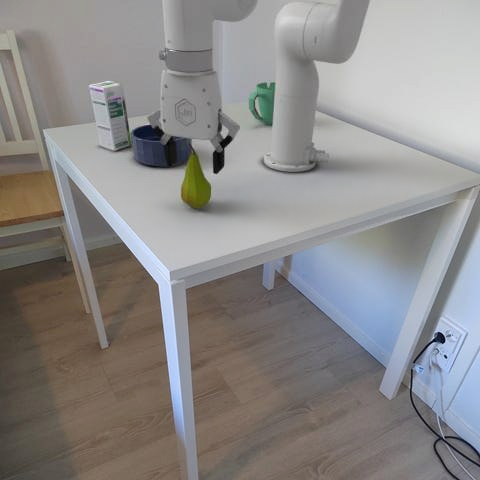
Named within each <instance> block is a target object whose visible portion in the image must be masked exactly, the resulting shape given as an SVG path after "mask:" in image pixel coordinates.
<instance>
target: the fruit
mask: <svg viewBox="0 0 480 480" xmlns="http://www.w3.org/2000/svg"><path fill="white" fill-rule="evenodd" d="M189 145H190V147H191V148H192V154H191V155H190V157H189V160H188V161H186V165H185V172H184V173H185V174H184V178H183V180H182V183H181V185H180V198H181V200H182V202H183V203H184V204H187V205H188V207H191V208H194V209H196V210H197V209H202V208H203V207H204V206H206V205H207V204H208V203H209V202H210V200H211V197H212V185H211V183H210V181H208V179H207V178H206V176H205V174H204V171H203V169H202V166H201V163H200V159H199V156H198V154H197V152H196V151H195V149H194V147H193V145H192V146H191V144H189Z"/></svg>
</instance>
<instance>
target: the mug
mask: <svg viewBox="0 0 480 480" xmlns="http://www.w3.org/2000/svg"><path fill="white" fill-rule="evenodd" d="M275 84H276V81H274V82H273V81H271V82H270V83H269V86H268V82H266V81H265V82H260V83H257V84H256V90H255V91H253V92H251V93H250V95H249V97H248V109H249V111H250V113H251V114H252V116H253V118H254V119H255V120H257V121H260V122H262V123H263V124H264V125H268V126H273V112H274V97H275ZM256 100H257V103H258V108H259V112H260V114H259V112H258V110H257V108H256Z"/></svg>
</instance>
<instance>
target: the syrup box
mask: <svg viewBox="0 0 480 480" xmlns="http://www.w3.org/2000/svg"><path fill="white" fill-rule="evenodd" d="M88 88H89V93H90V100H91V104H92V108H93V109H92V110H93V114H94V118H95V119H94V120H95V123H96V129H97V132H98V133H97V134H98V138H99V145H100V146H101V147H102V148H105V149H106V150H107V149H108V150H110V151H114V152H116V151H118V150H121V149H125V148H127V147H132V142H131V135H130V133H131V131H130V124H129V118H128V111H127V105H126V104H127V103H126V98H125V92H124V91H125V90H124V84H122V83H120V82H117V81H112V80H106V81H102V82H97V83H91V84H89V85H88Z"/></svg>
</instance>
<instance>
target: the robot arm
mask: <svg viewBox="0 0 480 480" xmlns="http://www.w3.org/2000/svg"><path fill="white" fill-rule="evenodd" d="M258 2H259V0H161V5H162V16H163V17H162V18H163V30H164V43H165V47H164V50H160V51H159V52H158V58H159V60H160V61H164V62H165V67H166V68H164V69H162V71H161V80H160V96H159V97H160V98H159V99H160V103H159V104H160V107H159V109H156V110H155V111H154V112H152V113H151V114H149V115H148V116H147V121H148V122H149V123H148V124H151V126H152V128H153V129H154V133H155V134H156V135H157V136H158V137H159V138H160V140H161V143H162V144H164V153H165V160H167V166H166V167H167V168H171V167H172V166H175V165H174V164H175V163H176V162H177V149H176V142H175V140H173V138H174V136H176V137H183V138H191V139H192V140H200V141H209V142H210V143H211V145H212V147H213V148H214V150H213V152H212V173H213V174H214V175H218V174H219V173H220V172H221V171H222V170H223V168H224V167H225V159H226V157H225V156H226V155H225V154H226V153H225V149H226V148H227V147H228V146H229V145H230V144H231V143H232V142H233V141H234V140H235V138H236V136H237V135H238V132H239V131H240V130H241V126H240V124H238V123H237V122H236V121H235V120H233V119H232V118H231V117H229V116H228V115H227V114H225V113H224V112H223V105H222V104H223V102H222V93H221V92H222V91H221V86H220V81H219V80H220V79H219V75H218V72H217V71H216V70H214V21H221V22H229V23H237V22H241V21H243V20H245V19H247V18H249V17H250V15H251V14H252V13H253V12H254V11H255V9H256V7H257V4H258ZM370 2H371V0H336V3H326V2H325V3H324V2H317V1H304V0H302V1H301V0H299V1H292V2H289V3H287V4H285V5H284V6H283V7H282V8H281V9H280V10H279V11H278V13H277V15H276V18H275V21H274V25H273V39H274V50H275V51H274V52H275V82H276V84H275V97H274V112H273V125H271V126H272V128H271V143H270V151H268V152H267V153H266V154H264V156H263V163H264V164H265V165H266V166H267V167H268V168H270V169H273V170H275V171H280V172H288V173H299V172H305V171H309V170H312V169H313V168H314V167H315V166H316V162H317V161H319V162H323V163H328V161H329V157H330V153H329V152H326V150H323V149H316V148H315V142H313V136H314V128H315V121H316V112H317V103H318V97H319V89H320V78H319V72H318V69H317V65H316V63H315V62H322V63H327V64H335V65H340V64H344V63H346V62H347V61H349V60H350V59H351V58H352V56H353V55H354V54H355V51H356V49H357V46H358V43H359V41H360V37H361V34H362V31H363V27H364V23H365V20H366V17H367V12H368V9H369V6H370ZM160 117H161V124H160V122H159V118H160ZM223 126H224V127H225V128H226V129H227V130H228V132H227V134H226V136H225V137H224V136H223V134H222V133H221V132H222V131H223Z"/></svg>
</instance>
